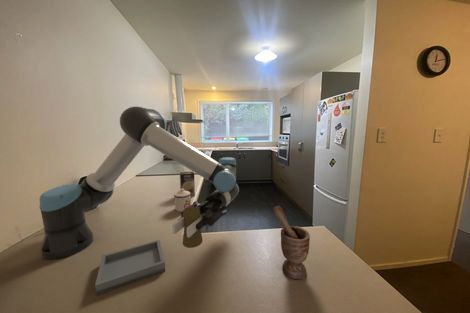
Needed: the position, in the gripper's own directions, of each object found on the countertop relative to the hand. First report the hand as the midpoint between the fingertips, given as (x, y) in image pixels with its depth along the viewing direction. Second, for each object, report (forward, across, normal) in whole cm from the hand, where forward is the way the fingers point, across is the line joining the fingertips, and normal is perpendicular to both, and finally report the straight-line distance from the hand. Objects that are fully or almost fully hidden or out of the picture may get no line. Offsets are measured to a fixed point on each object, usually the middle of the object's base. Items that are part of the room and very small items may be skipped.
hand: (180, 231), depth 51 cm
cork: (-5, 0, -7) cm, 9 cm away
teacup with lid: (-45, +33, -17) cm, 58 cm away
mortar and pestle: (-17, -28, -17) cm, 37 cm away
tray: (0, +20, -17) cm, 26 cm away
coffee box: (-62, +42, -17) cm, 77 cm away
